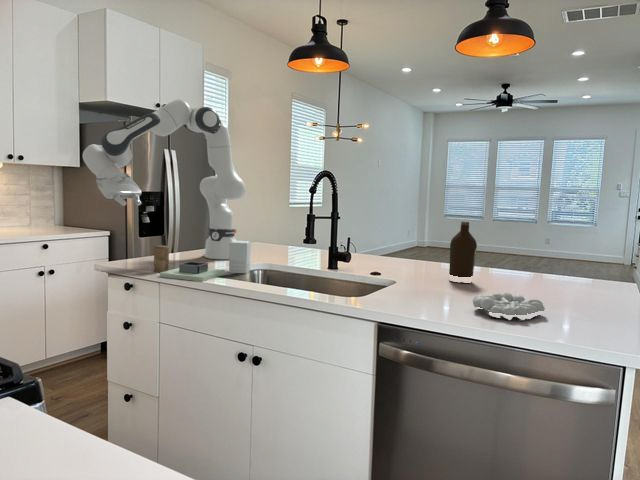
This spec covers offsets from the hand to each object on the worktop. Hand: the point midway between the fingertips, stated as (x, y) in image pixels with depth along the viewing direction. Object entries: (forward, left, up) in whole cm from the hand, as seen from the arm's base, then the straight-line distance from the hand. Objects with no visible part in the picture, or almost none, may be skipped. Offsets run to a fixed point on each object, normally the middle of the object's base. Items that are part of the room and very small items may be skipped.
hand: (132, 204), depth 199 cm
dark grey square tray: (+2, +29, -24) cm, 38 cm away
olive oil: (-41, +129, -26) cm, 138 cm away
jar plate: (+2, +29, -26) cm, 39 cm away
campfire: (+9, +143, -26) cm, 146 cm away
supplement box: (-14, +41, -26) cm, 51 cm away
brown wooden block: (+1, +14, -26) cm, 29 cm away
